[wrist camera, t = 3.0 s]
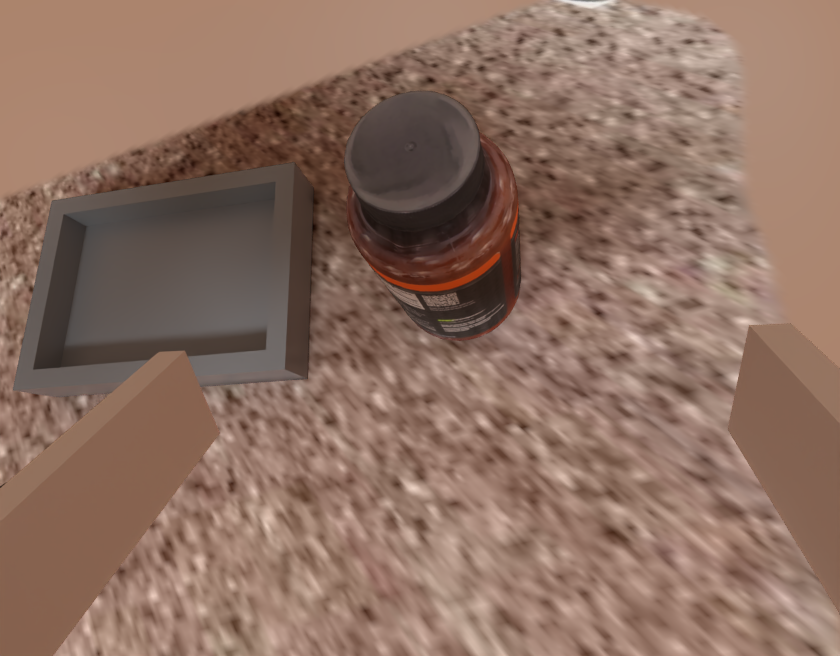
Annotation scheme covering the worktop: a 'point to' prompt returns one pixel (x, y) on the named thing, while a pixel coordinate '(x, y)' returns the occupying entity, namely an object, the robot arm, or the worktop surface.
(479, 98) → the worktop surface
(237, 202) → the tray
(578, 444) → the worktop surface
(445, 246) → the supplement bottle
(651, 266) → the worktop surface
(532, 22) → the worktop surface
